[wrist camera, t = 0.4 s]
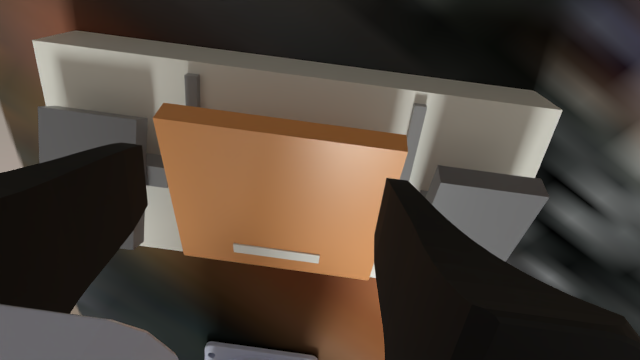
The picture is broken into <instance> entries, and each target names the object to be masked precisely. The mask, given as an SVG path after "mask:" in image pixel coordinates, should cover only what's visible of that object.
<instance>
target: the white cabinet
mask: <svg viewBox="0 0 640 360" xmlns="http://www.w3.org/2000/svg"><path fill="white" fill-rule="evenodd" d="M32 42H33V47H34V51H35V56H36V61H37V66H38V70H39V75H40V80H41V85H42V89H43V94H44V99H45V104H46V106H61V107H69V108H76V109H84V110H91V111H99V112H106V113H114V114H121V115H129V116H136V117H144V118H148V130H147V160H146V190H147V200H148V206H147V208H146V209H145V221H144V242H143V243H141V244H140V246H147V247H154V248H162V249H169V250H176V251H183V249H182V244H181V240H180V235H179V231H178V227H177V222H176V218H175V214H174V209H173V205H172V200H171V196H170V192H169V187H168V183H167V179H166V174H165V170H164V165H163V161H162V157H161V152H160V148H159V144H158V139H157V135H156V130H155V126H154V122H153V117H154V115H155V114H156V112H157V111H158V110H159V108H160V107H161V105H162V104H163V103H170V104H178V105H185V106H193V107H200V108H208V109H215V110H223V111H230V112H238V113H245V114H253V115H260V116H268V117H275V118H283V119H290V120H298V121H305V122H313V123H320V124H328V125H335V126H343V127H350V128H358V129H365V130H373V131H380V132H388V133H395V134H403V135H406V136H407V146H408V154H407V157H406V160H405V164H404V167H403V170H402V173H401V177H400V180H407V181H409V182H410V183H411V184H412V185H413V186H414V187H415V188H416V189H417V190H418V191H419V192H420V193H421V194H422V195H423V196H424V197H426V194H427V192H428V189H429V187H430V184H431V181H432V179H433V176H434V174H435V171H436V168H437V166H438V165H441V166H448V167H456V168H463V169H471V170H478V171H485V172H493V173H500V174H508V175H515V176H523V177H530V178H535V176H536V174H537V172H538V169H539V167H540V164H541V162H542V159H543V157H544V155H545V152H546V150H547V147H548V145H549V142H550V140H551V138H552V135H553V133H554V130H555V128H556V125H557V123H558V120H559V118H560V116H561V113H562V111H563V110H561V109H560V108H559V107H557V106H556V105H554V104H553V103H551V102H550V101H548V100H547V99H545V98H544V97H542V96H541V95H540V94H538V93H537V92H535V91H533V90H526V89H518V88H510V87H503V86H495V85H488V84H480V83H472V82H465V81H457V80H450V79H442V78H435V77H427V76H419V75H412V74H404V73H397V72H389V71H381V70H374V69H366V68H359V67H351V66H343V65H336V64H328V63H321V62H313V61H305V60H298V59H290V58H283V57H275V56H267V55H260V54H252V53H245V52H237V51H229V50H222V49H214V48H207V47H199V46H191V45H184V44H176V43H169V42H161V41H153V40H146V39H138V38H131V37H123V36H115V35H108V34H100V33H93V32H85V31H77V30H75V31H71V32H66V33H62V34H57V35H53V36H49V37H44V38H40V39H36V40H32ZM370 277H373V278H376V274H375V266H374V264H373V267H372V271H371V274H370Z"/></svg>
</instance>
